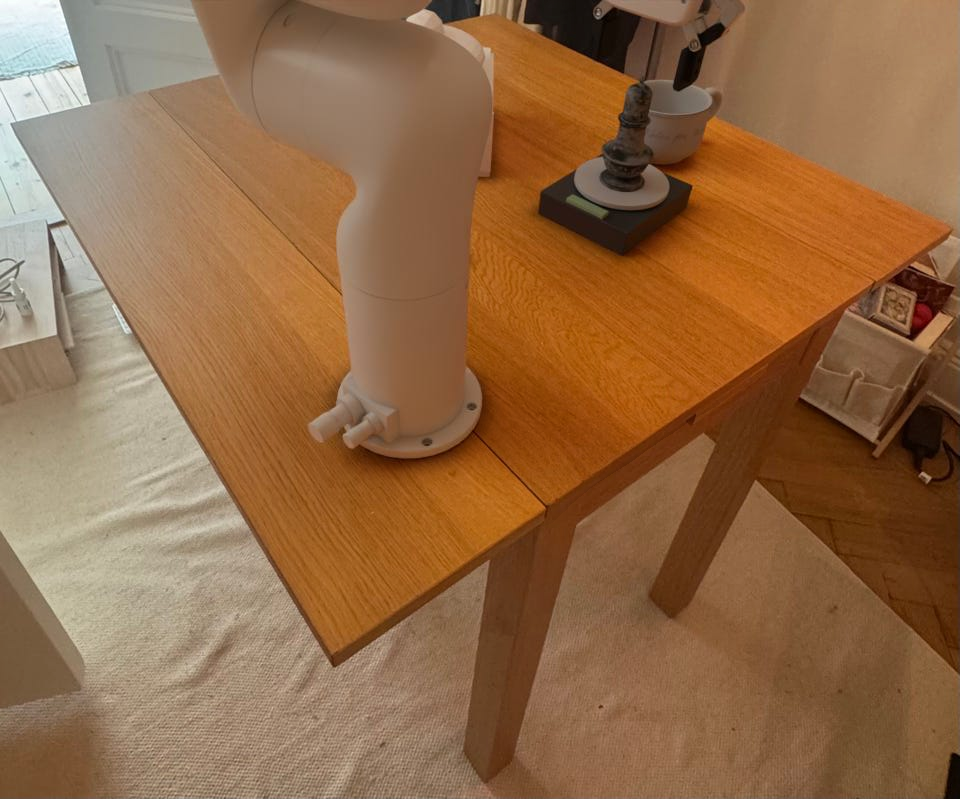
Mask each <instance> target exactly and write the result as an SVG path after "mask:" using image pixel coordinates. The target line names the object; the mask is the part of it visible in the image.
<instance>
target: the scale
mask: <svg viewBox="0 0 960 799" xmlns="http://www.w3.org/2000/svg"><path fill="white" fill-rule="evenodd" d="M605 169H607V168H606V166H605V164H604V159H603V154H602V153H601V154H599V155H597V156H596V157H594V158H591V159H590V160H587V161H585V162H583V163H581V164H580V165H579V166H578V167H577V168H576V169H575V170H573V171H571V172H569V173H568V174H566V175H565V176H563V177H561V178H560V179H558V180H556V181H555V182H553V183H551V184H550V185H549V186H547V187H545V188H543V189H541V190H540V195H539V202H538V203H539V204H538V210H537V211H538V212H537V213H538V214H539V215H541V216H543V217H545V218H547V219H549V220H551V221H552V222H555V223H557V224H559V225H561V226H562V227H565V228H567V229H568V230H571V231H572V232H574V233H576V234H579V235H580V236H583V237H584V238H587V239H588V240H590V241H592V242H594V243H596V244H598V245H600V246H602V247H604V248H606V249H608V250H609V251H612V252H614V253H616V254H618V255H620V256H622V257H623V256H624V255H626V254H627V253H628V252H630V251H631V250H632V249H634V248H635V247H636V246H637V245H639V244H640V243H641V242H643V241H644V240H645V239H647V238H648V237H650V236H651V235H653V233H654V232H656V231H657V230H658V229H660V228H661V227H662V226H664V225H665V224H667V223H668V222H669V221H671V220H672V219H673V218H674V217H676V216H678V214H680V213H681V212H682V211H685V209H686V208H687V207H688V204H689V200H690V197H691V193H692V190H693V187H694V185H693V184H692V183H688V182H686V181H684V180H682V179H679V178H677V177H675V176H672V175H670V174H668V173H665V172H663V171H661V170H660V169H658V168H657V167H656V166H654V165H653V164H651V163H649V165H648V166H647V167H646V169H645V170H644V172H642V173H641V175H642V176H643V178H644V180H645V184H644V186H643V187H642V188H641V189H639V190H637V191H633V192H620V191H615V190H612V189H609V188H607V187H606V186H604V185H603V184H602V183H601V182H600V179H599V176H600V173H601V172H602V171H604V170H605Z"/></svg>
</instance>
